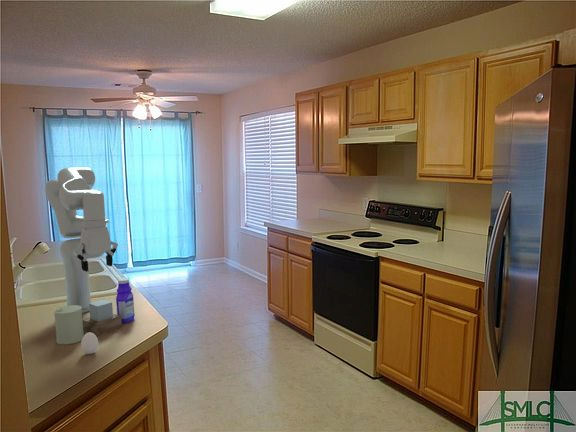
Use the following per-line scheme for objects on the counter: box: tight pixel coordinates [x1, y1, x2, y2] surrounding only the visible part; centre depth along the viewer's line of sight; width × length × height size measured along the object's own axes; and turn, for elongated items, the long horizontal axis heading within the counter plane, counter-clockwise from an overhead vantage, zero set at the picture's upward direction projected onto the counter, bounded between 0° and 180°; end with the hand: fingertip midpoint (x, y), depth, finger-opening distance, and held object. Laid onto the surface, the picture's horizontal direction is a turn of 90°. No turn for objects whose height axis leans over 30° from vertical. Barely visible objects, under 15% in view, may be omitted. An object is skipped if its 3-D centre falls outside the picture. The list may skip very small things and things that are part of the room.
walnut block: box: [82, 313, 123, 337], centre depth 172 cm, size 10×10×5 cm
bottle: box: [115, 277, 135, 324], centre depth 180 cm, size 7×6×17 cm
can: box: [53, 305, 85, 345], centre depth 162 cm, size 9×9×12 cm
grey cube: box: [89, 299, 114, 322], centre depth 171 cm, size 6×6×6 cm
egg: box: [80, 332, 99, 355], centre depth 149 cm, size 5×5×7 cm
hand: (97, 268), depth 170 cm, fingers open, 9 cm apart
